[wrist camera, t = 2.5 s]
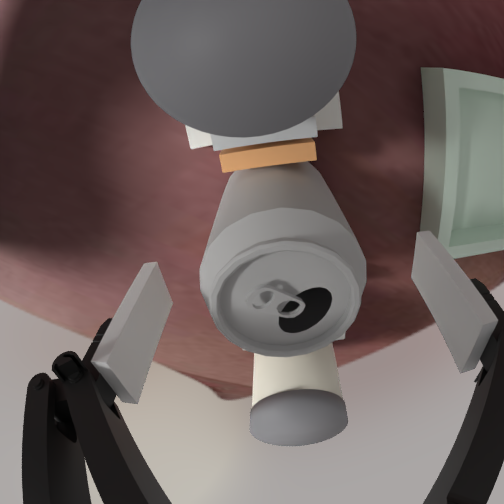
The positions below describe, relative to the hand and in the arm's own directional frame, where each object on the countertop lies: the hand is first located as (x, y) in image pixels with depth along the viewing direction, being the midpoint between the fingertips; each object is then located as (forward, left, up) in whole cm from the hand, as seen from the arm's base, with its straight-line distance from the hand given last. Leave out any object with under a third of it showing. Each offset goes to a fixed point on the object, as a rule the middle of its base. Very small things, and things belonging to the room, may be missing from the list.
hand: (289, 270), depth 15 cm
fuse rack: (0, 0, -9) cm, 9 cm away
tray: (+19, +2, -9) cm, 21 cm away
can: (0, 0, -9) cm, 9 cm away
